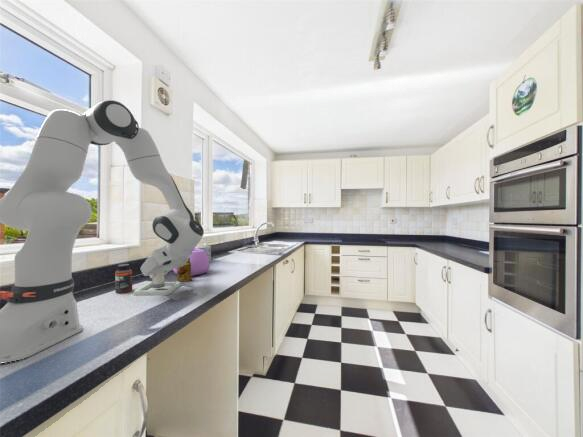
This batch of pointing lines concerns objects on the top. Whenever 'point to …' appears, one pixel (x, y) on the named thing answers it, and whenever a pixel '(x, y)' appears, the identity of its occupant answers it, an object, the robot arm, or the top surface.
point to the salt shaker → (158, 280)
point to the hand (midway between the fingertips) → (157, 275)
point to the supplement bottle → (123, 279)
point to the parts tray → (156, 292)
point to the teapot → (197, 262)
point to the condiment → (184, 272)
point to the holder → (181, 295)
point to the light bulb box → (207, 250)
